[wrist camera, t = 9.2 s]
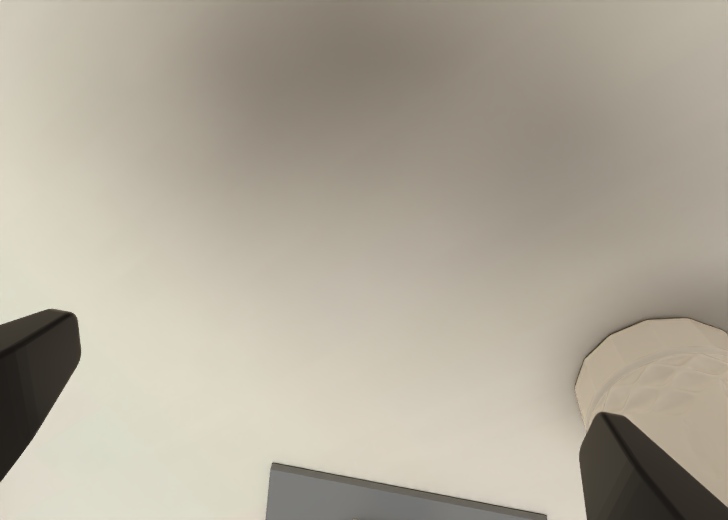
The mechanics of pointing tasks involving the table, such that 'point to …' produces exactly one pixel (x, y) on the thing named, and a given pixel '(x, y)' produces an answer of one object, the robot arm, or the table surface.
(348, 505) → the slate pad
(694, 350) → the white cup
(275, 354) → the table surface
